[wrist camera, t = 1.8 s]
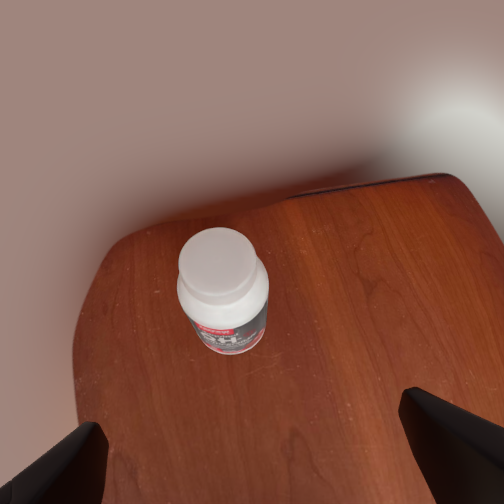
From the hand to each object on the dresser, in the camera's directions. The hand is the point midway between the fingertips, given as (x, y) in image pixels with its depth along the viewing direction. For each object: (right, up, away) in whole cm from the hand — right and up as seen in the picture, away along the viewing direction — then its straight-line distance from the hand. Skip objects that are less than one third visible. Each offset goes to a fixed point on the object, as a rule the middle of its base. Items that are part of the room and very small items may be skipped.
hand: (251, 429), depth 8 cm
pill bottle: (-2, -1, +17) cm, 17 cm away
